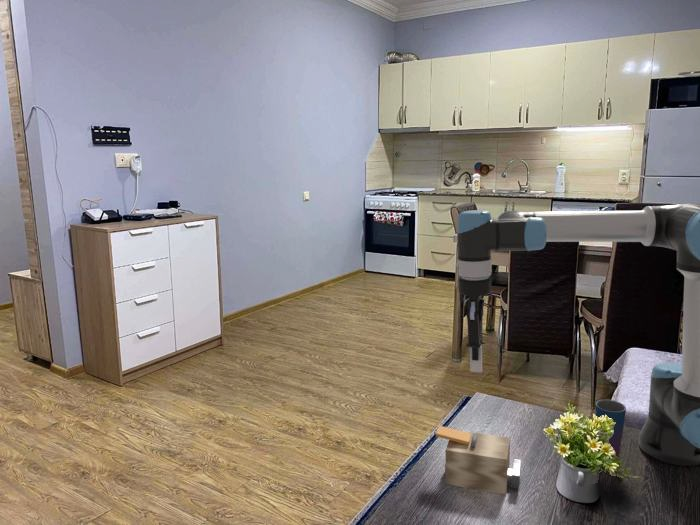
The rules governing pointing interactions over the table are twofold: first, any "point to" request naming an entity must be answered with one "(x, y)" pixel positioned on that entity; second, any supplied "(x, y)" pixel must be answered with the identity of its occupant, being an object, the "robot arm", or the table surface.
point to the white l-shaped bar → (511, 474)
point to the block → (479, 463)
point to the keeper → (456, 435)
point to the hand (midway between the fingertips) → (476, 370)
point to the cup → (617, 414)
